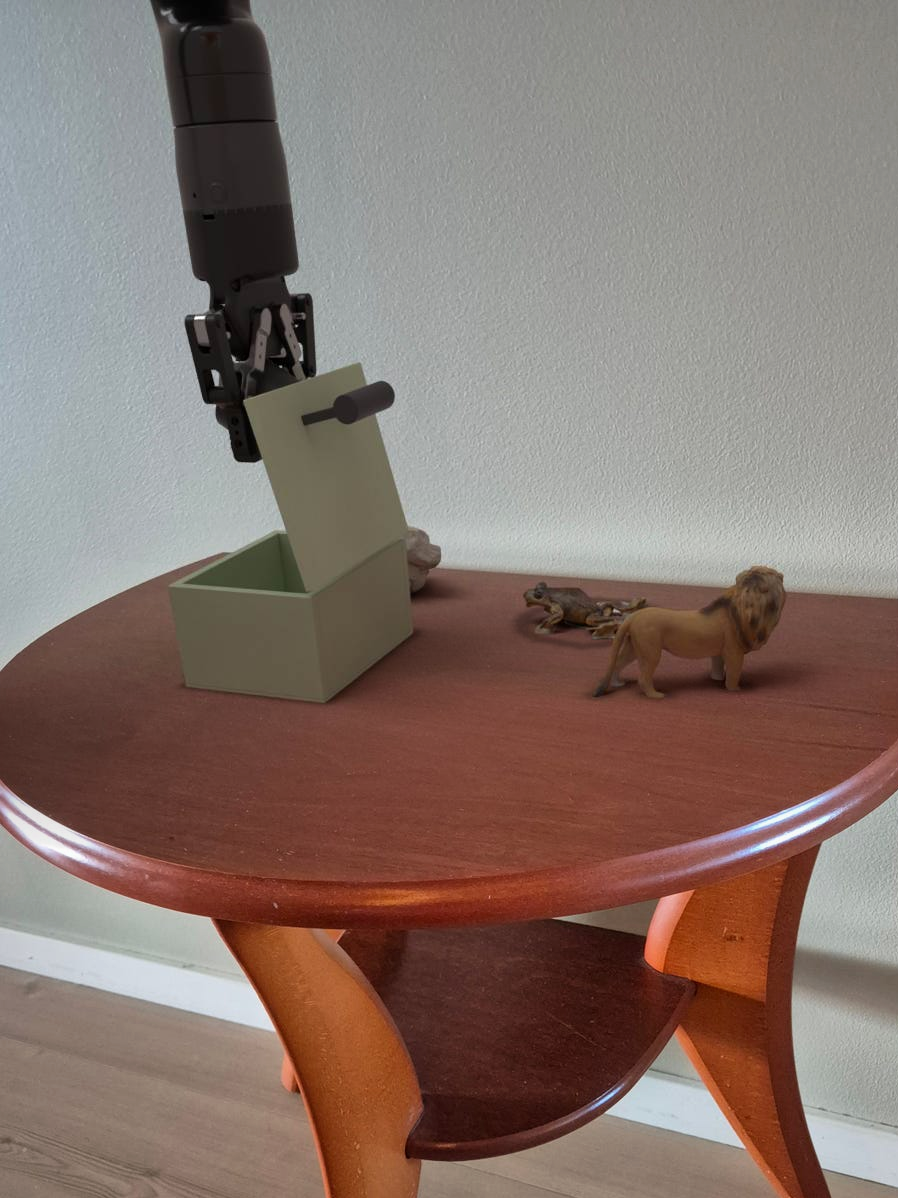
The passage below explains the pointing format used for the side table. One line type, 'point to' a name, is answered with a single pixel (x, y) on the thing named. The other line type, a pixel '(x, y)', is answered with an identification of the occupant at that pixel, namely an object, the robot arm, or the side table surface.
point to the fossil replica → (420, 557)
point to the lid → (329, 469)
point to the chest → (288, 621)
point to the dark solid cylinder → (262, 385)
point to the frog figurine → (579, 610)
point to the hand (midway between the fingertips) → (271, 450)
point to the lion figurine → (701, 631)
